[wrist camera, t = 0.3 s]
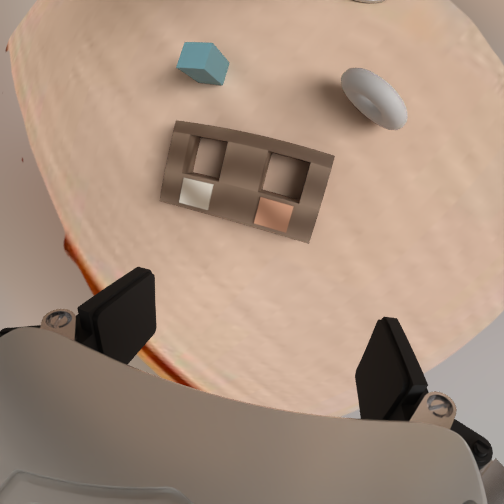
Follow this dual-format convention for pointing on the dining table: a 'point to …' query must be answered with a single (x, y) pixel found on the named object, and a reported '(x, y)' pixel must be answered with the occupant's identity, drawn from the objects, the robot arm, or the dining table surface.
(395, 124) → the donut
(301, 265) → the dining table surface
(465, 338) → the dining table surface
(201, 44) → the plug
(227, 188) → the socket block
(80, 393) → the robot arm
